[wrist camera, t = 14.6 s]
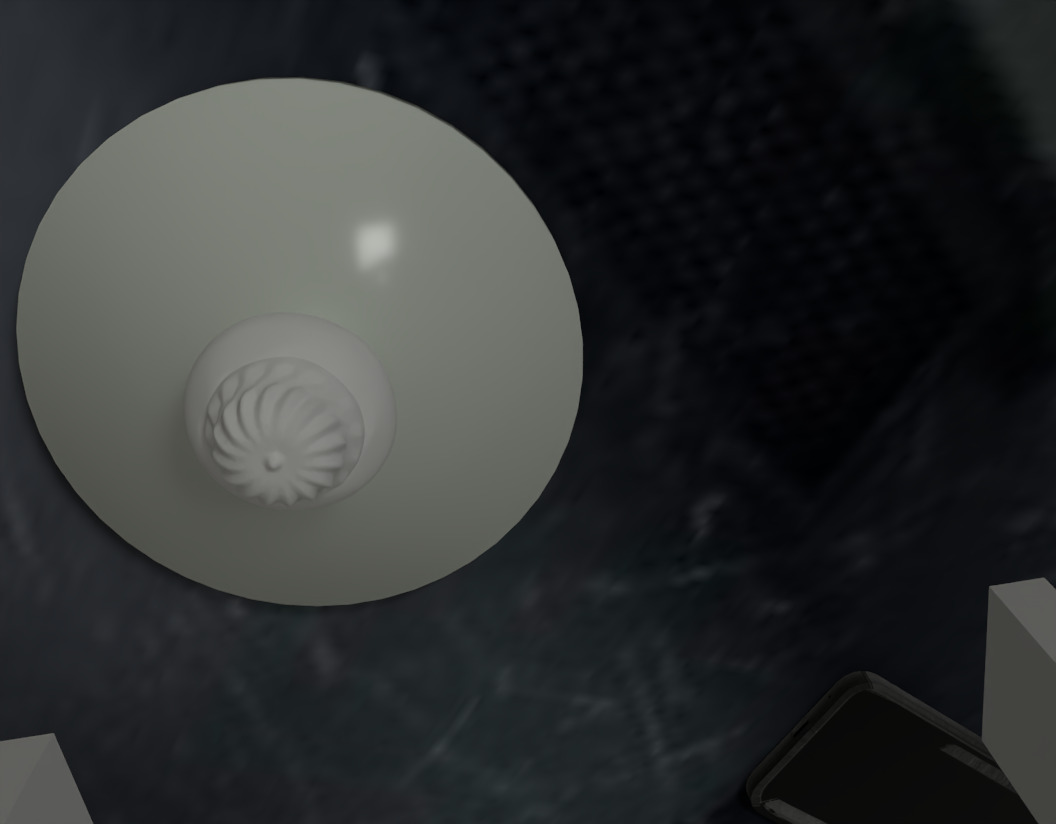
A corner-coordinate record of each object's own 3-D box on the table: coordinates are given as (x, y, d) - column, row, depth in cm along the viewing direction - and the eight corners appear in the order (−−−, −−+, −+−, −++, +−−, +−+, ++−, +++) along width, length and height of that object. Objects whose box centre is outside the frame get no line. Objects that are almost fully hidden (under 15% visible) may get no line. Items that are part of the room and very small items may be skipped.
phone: (986, 932, 46) (739, 804, 41) (974, 911, 47) (732, 784, 42) (1111, 819, 43) (865, 672, 39) (1096, 800, 44) (854, 654, 40)
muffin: (309, 492, 34) (277, 608, 27) (169, 368, 32) (98, 462, 25) (441, 376, 33) (440, 469, 26) (305, 240, 30) (267, 305, 24)
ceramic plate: (-83, 200, 30) (-103, 208, 29) (466, -15, 29) (467, -15, 28) (191, 650, 37) (183, 670, 36) (643, 491, 36) (649, 506, 35)
